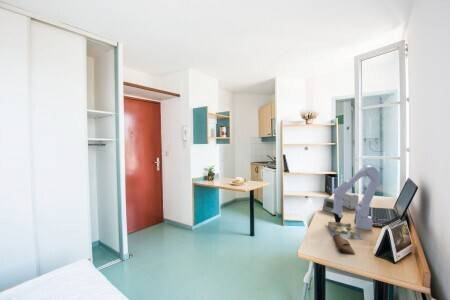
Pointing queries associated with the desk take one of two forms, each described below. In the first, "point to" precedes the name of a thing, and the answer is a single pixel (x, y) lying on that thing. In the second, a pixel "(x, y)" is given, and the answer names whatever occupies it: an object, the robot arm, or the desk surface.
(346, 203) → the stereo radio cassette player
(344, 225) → the panel
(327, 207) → the digital clock
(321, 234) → the desk surface
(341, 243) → the sunglasses case
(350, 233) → the keyhole board
